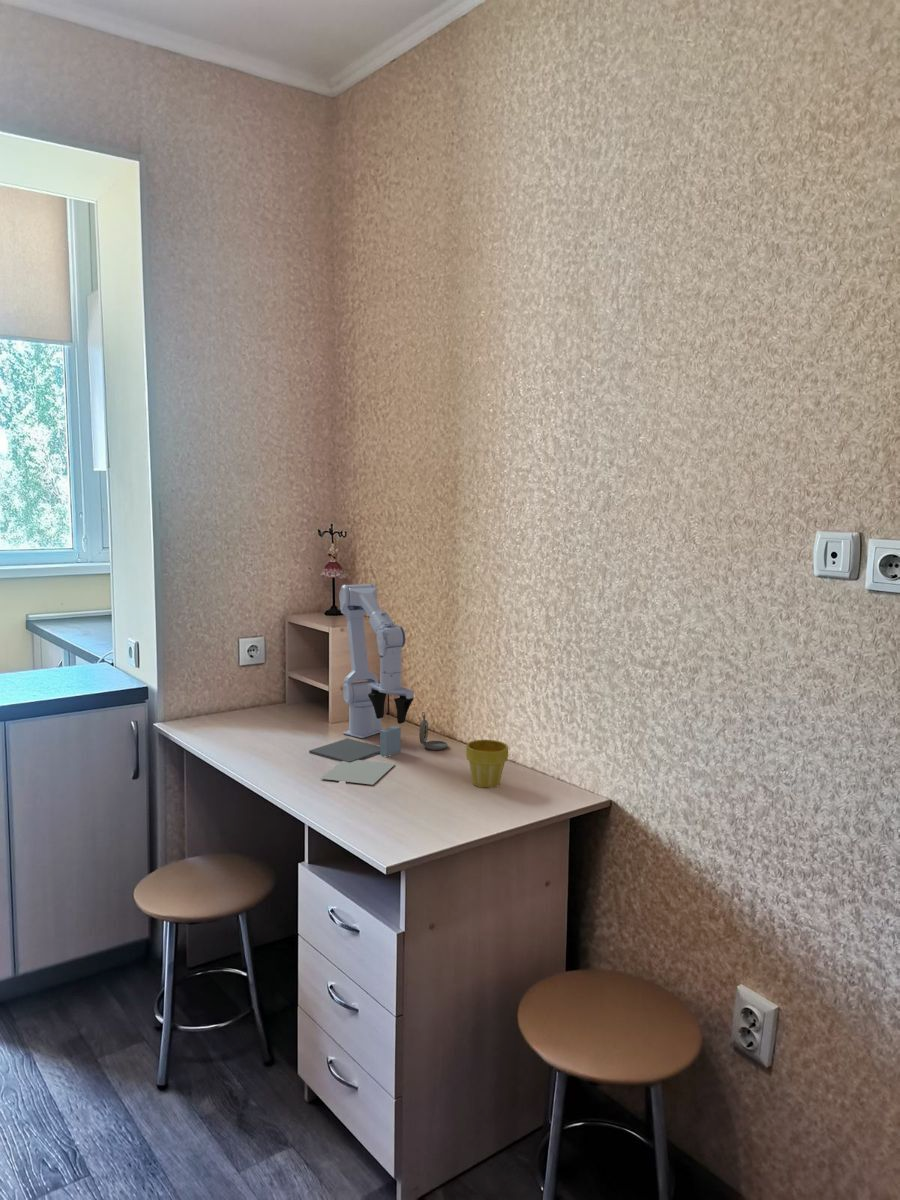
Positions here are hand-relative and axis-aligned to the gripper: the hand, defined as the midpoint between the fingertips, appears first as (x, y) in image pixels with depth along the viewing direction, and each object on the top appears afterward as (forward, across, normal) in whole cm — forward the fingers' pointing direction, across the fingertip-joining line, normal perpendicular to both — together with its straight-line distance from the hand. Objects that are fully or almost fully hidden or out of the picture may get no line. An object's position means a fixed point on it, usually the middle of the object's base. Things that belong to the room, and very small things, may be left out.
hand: (390, 720), depth 235 cm
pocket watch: (+10, +5, +12) cm, 16 cm away
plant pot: (+10, +34, -3) cm, 35 cm away
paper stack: (+10, +10, -19) cm, 24 cm away
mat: (+9, -10, -6) cm, 15 cm away
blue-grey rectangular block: (+9, 0, 0) cm, 9 cm away
